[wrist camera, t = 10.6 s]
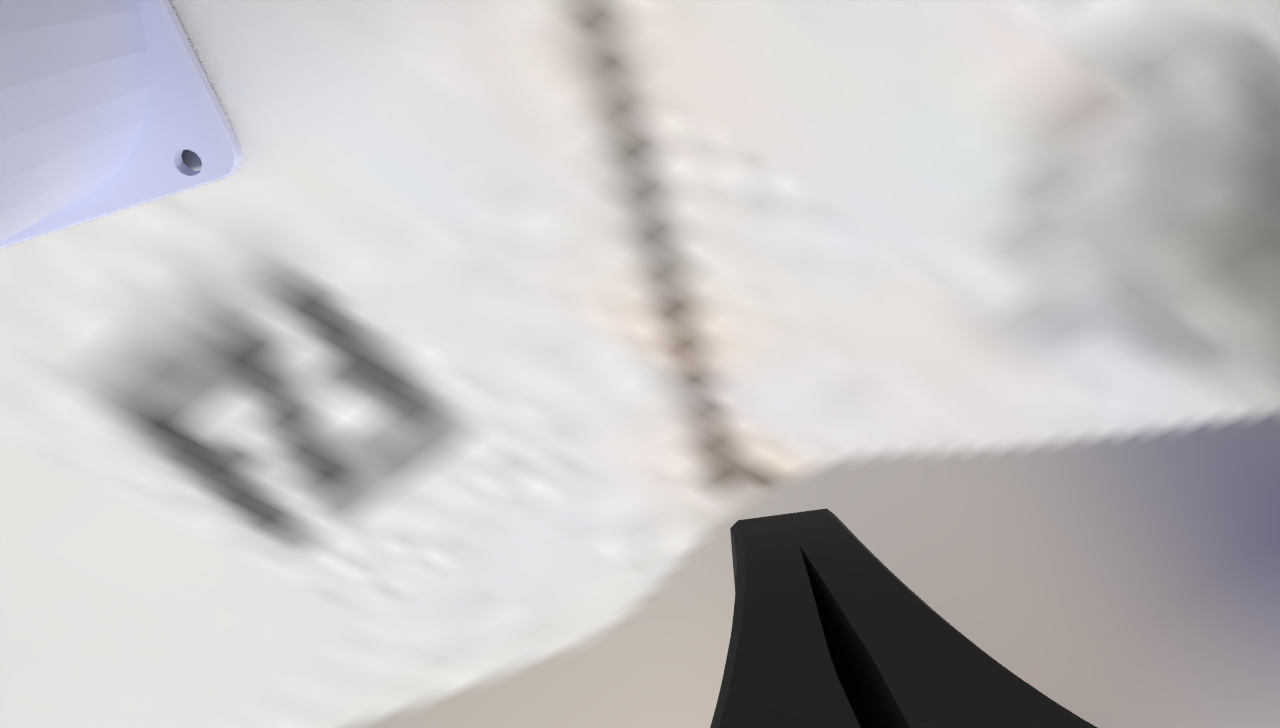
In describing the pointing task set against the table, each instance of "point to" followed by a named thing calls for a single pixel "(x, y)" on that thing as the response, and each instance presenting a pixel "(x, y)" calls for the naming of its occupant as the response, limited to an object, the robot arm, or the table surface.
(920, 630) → the robot arm
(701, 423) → the table surface
